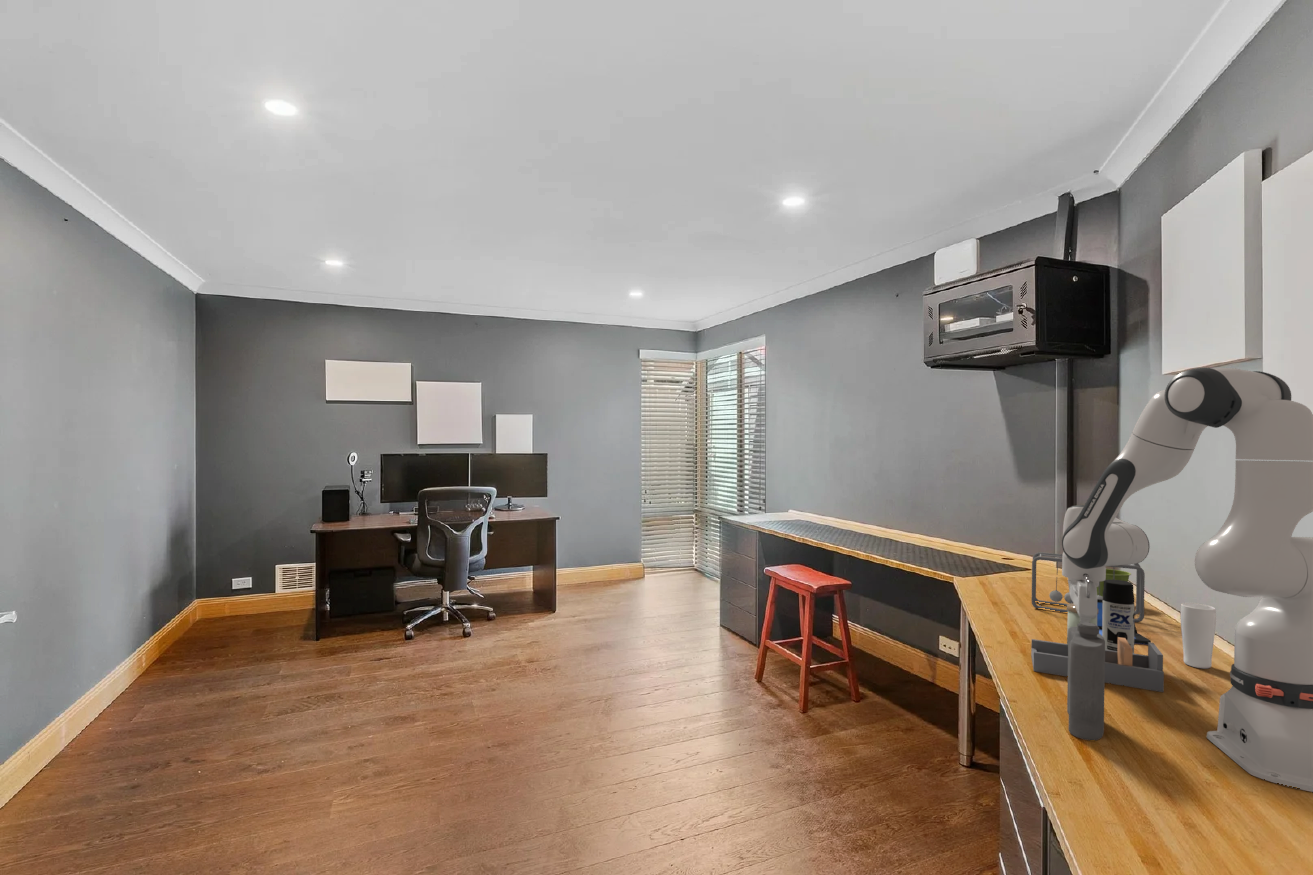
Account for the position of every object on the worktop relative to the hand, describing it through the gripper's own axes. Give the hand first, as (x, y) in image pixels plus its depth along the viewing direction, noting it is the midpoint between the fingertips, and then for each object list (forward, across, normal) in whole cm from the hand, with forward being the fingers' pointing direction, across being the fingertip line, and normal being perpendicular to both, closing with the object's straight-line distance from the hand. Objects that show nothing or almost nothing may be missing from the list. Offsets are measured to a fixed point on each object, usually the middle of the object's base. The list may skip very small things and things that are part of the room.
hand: (1082, 626), depth 153 cm
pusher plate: (+9, 0, -8) cm, 13 cm away
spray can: (+11, +15, -9) cm, 21 cm away
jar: (+5, 0, 0) cm, 5 cm away
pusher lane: (+11, 0, -2) cm, 11 cm away
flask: (+11, -35, +3) cm, 37 cm away
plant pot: (+12, +83, -16) cm, 85 cm away
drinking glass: (+11, +20, -26) cm, 35 cm away
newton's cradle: (+12, +65, -7) cm, 66 cm away
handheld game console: (+12, +38, -10) cm, 41 cm away
